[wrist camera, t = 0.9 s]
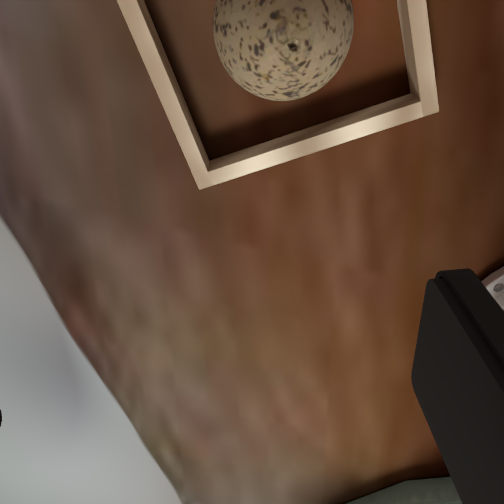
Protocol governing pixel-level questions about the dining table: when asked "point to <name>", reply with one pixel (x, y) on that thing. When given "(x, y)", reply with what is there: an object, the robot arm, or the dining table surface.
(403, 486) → the tea set
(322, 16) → the decorative egg
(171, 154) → the dining table surface
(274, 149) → the frame
